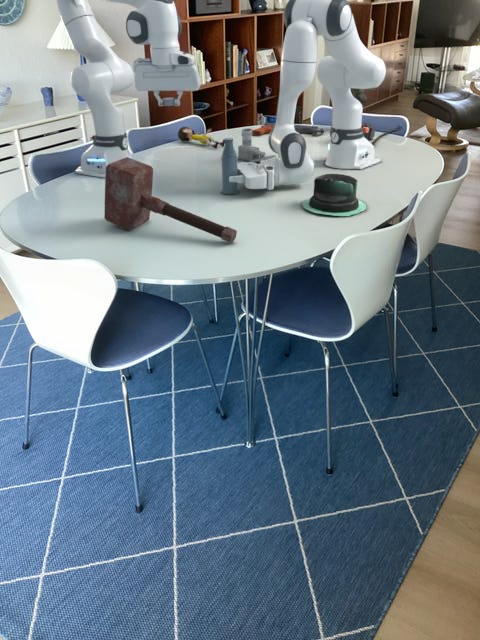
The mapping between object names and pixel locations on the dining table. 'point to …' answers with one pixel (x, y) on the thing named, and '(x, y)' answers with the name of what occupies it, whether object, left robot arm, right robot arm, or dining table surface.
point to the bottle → (229, 167)
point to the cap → (168, 101)
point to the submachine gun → (298, 128)
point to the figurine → (197, 137)
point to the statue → (359, 95)
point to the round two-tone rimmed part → (334, 196)
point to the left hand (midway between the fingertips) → (169, 105)
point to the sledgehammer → (146, 200)
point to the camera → (250, 149)
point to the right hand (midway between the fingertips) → (227, 176)
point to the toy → (369, 131)
